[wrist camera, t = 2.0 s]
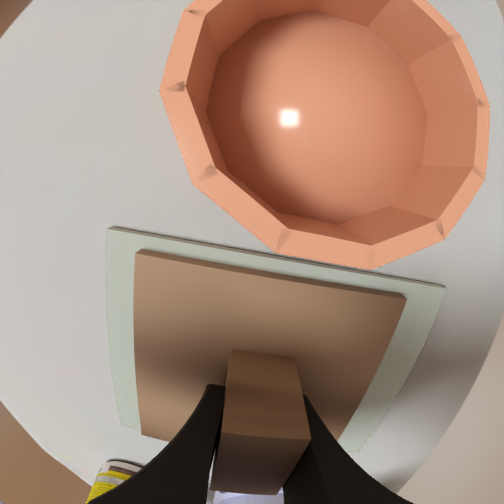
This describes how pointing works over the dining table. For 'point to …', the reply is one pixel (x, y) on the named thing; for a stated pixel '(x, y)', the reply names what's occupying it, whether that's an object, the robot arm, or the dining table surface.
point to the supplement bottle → (111, 477)
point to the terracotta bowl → (329, 122)
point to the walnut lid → (253, 358)
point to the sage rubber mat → (417, 293)
